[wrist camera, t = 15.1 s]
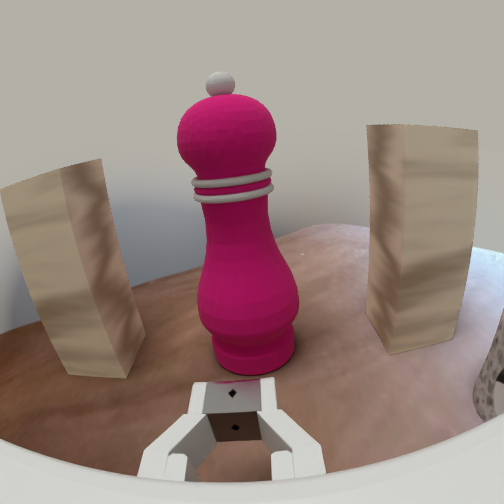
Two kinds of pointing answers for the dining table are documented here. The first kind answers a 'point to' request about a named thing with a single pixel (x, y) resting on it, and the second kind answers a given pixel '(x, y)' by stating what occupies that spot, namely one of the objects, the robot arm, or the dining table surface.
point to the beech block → (75, 268)
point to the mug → (491, 379)
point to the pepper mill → (238, 230)
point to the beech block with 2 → (419, 231)
